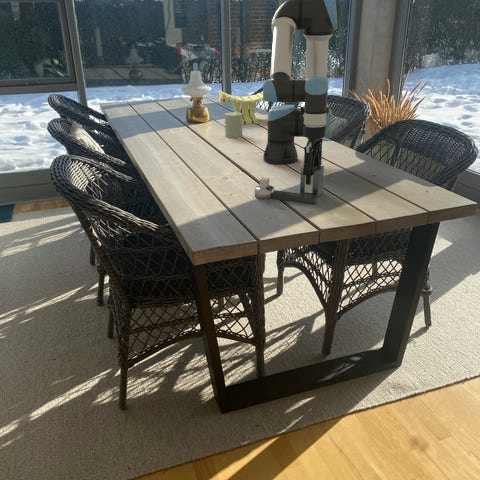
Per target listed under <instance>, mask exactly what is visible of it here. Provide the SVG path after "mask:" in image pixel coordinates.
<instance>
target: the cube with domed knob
mask: <svg viewBox="0 0 480 480" xmlns="http://www.w3.org/2000/svg"><path fill="white" fill-rule="evenodd" d="M303 168H304V166H303V167H301V168H300V187H299V188H300V189H299V190H300V191H299V194H306V195H313V196H317V199H319V197H320V196H321V195H322V194H323V188H324V187H323V186H324V170H325V166H324V165H321V166H318V165H314V166H313V173H312V175H313V191H312V193H306V192H305V175H303Z"/></svg>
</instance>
